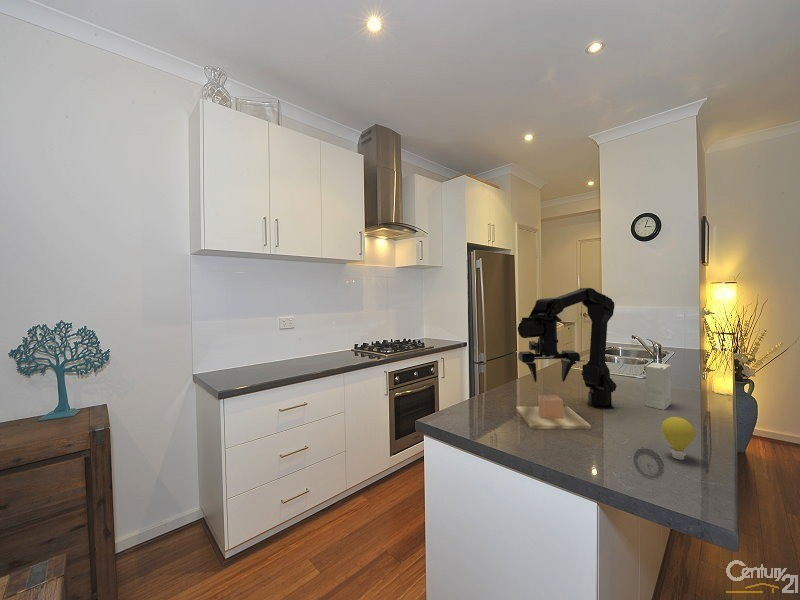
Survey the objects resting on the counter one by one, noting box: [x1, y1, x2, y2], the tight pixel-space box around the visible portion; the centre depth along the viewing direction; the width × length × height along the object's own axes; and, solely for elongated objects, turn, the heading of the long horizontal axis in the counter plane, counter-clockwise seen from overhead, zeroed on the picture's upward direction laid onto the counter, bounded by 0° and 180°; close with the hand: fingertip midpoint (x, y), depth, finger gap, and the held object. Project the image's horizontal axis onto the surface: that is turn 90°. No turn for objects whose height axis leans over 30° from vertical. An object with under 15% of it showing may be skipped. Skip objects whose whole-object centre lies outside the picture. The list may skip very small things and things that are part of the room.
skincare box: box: [645, 362, 672, 411], centre depth 125 cm, size 8×6×15 cm
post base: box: [515, 406, 592, 430], centre depth 116 cm, size 18×18×6 cm
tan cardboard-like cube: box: [537, 394, 564, 419], centre depth 116 cm, size 6×6×6 cm
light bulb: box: [660, 416, 696, 460], centre depth 87 cm, size 7×7×10 cm
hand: (549, 381), depth 118 cm, fingers open, 9 cm apart
